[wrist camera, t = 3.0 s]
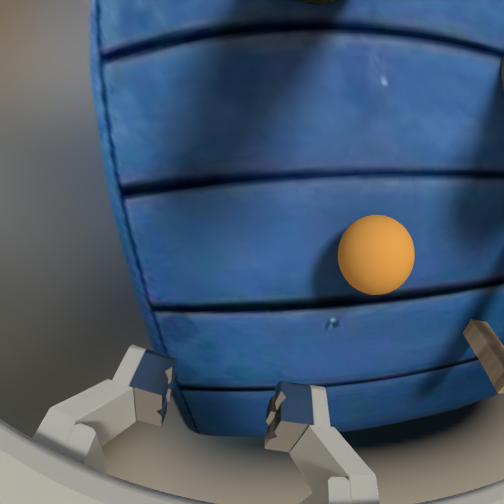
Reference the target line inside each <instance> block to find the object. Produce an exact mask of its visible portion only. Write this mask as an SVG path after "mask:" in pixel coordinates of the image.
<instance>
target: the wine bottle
mask: <svg viewBox="0 0 504 504" xmlns="http://www.w3.org/2000/svg"><path fill="white" fill-rule="evenodd" d="M298 1H303V2H307V3H330V2H334V1H338V0H298Z"/></svg>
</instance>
